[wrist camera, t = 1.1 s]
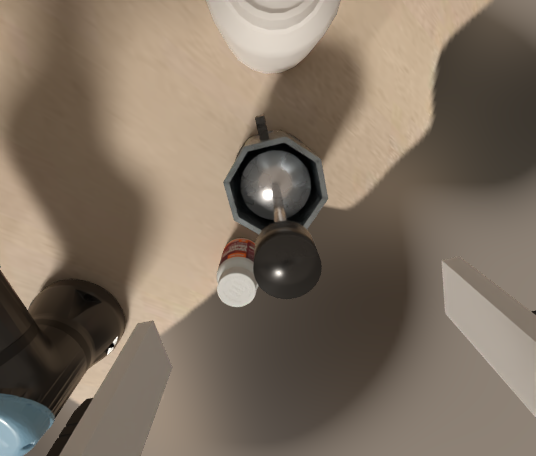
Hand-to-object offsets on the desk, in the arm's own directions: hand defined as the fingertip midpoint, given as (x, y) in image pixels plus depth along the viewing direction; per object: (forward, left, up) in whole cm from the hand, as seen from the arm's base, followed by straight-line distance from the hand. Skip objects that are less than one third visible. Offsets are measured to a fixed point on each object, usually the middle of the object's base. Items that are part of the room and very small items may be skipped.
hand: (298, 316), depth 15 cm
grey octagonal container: (0, +1, -37) cm, 37 cm away
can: (+4, +19, -38) cm, 42 cm away
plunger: (0, 0, -28) cm, 28 cm away
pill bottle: (-8, -12, -38) cm, 40 cm away
